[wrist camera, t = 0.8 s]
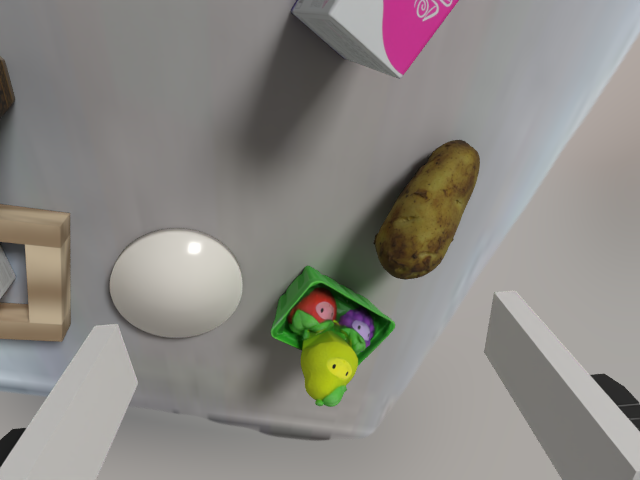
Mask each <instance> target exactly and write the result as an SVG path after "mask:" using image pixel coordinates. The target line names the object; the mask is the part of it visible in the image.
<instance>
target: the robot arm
mask: <svg viewBox="0 0 640 480" xmlns="http://www.w3.org/2000/svg"><path fill="white" fill-rule="evenodd" d="M484 353H485V354H486V356H487V358H488V359H489V361H490V362H491V364H492V366H493V367H494V369H495V370H496V372H497V374H498V376H499V377H500V379H501V380H502V382H503V384H504V385H505V387H506V389H507V390H508V392H509V393H510V395H511V397H512V398H513V400H514V402H515V403H516V405H517V407H518V408H519V410H520V411H521V413H522V415H523V416H524V418H525V420H526V421H527V423H528V425H529V426H530V428H531V429H532V431H533V433H534V434H535V436H536V437H537V439H538V441H539V442H540V444H541V446H542V447H543V449H544V450H545V452H546V454H547V455H548V457H549V459H550V460H551V462H552V464H553V465H554V467H555V469H556V470H557V472H558V473H559V475H560V477H561V478H562V480H640V405H639V402H638V401H637V400H636V399H635V398H634V396H632V394H631V393H630V392H629V391H628V390H627V389H626V388H625V387H624V386H622V385H621V384H619V383H618V382H616V381H615V380H613V379H612V378H610V377H609V376H607V375H605V374H595V375H589V374H588V372H587V371H586V370H585V369H584V368H583V367H582V366H581V364H580V363H579V362H578V361H577V360H576V359H575V358H574V356H573V355H572V354H571V353H570V352H569V351H568V350H567V349H566V348H565V346H564V345H563V344H562V343H561V342H560V341H559V339H558V338H557V337H556V336H555V335H554V334H553V333H552V332H551V330H550V329H549V328H548V327H547V326H546V325H545V324H544V323H543V321H542V320H541V319H540V318H539V317H538V316H537V315H536V314H535V312H534V311H533V310H532V309H531V308H530V307H529V305H528V304H527V303H526V302H525V301H524V300H523V299H522V298H521V296H520V295H519V294H518V293H517V292H516V291H505V292H494V297H493V302H492V308H491V315H490V321H489V326H488V332H487V338H486V344H485V350H484ZM137 384H138V381H137V378H136V375H135V372H134V370H133V367H132V364H131V361H130V358H129V355H128V352H127V350H126V347H125V344H124V341H123V338H122V335H121V332H120V329H119V327H118V324H111V325H99V326H94V328H93V329H92V331H91V332H90V334H89V335H88V337H87V338H86V340H85V341H84V343H83V344H82V346H81V347H80V349H79V350H78V352H77V353H76V355H75V356H74V358H73V359H72V361H71V362H70V364H69V365H68V367H67V368H66V370H65V371H64V373H63V374H62V376H61V377H60V379H59V380H58V382H57V383H56V385H55V386H54V388H53V389H52V391H51V392H50V394H49V395H48V397H47V398H46V400H45V401H44V403H43V404H42V406H41V407H40V409H39V410H38V412H37V413H36V415H35V416H34V418H33V420H32V421H31V422H30V424H29V426H28V427H27V428H20V429H12V430H11V431H10V432H9V433H8V434H7V435H5V436H4V437H3V438H2V439H1V440H0V480H96V479H97V476H98V474H99V472H100V470H101V467H102V465H103V463H104V460H105V458H106V456H107V454H108V451H109V449H110V447H111V444H112V442H113V440H114V437H115V435H116V433H117V431H118V428H119V426H120V423H121V421H122V419H123V417H124V414H125V412H126V410H127V407H128V405H129V403H130V401H131V398H132V396H133V394H134V391H135V389H136V387H137Z"/></svg>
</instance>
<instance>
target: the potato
mask: <svg viewBox="0 0 640 480" xmlns="http://www.w3.org/2000/svg"><path fill="white" fill-rule="evenodd" d="M479 166H480V158H479V155H478V152H477V151H476V150H475V149H474V148H473V147H471V146H470V145H469V144H468V143H466V142H465V141H462V140H455V141H450V142H447V143H445V144H443V145H442V146H440V147H439V148H437V149H436V150H435V151H433V153H432V155H431V156H430V157H429V160H428V162H427V163H426V164H425V165H423V166H422V167H421V168H419V170H418V171H417V173H416V174H415V176H414V177H413V178H412V179H411V181H410V182H409V183H408V184H407V186H406V187H405V188H404V190H403V191H402V193H401V194H400V196H399V197H398V199H397V200H396V202H395V204H394V206H393V207H392V209H391V211H390V213H389V214H388V216H387V218H386V220H385V221H384V223H383V225H382V226H381V228H380V231H379V233H378V234H377V235H376V236H375V240H374V244H375V247H376V252H377V254H378V258H379V261H380V263H381V265H382V266H383V268H384V269H385V270H386V271H387V272H388V273H390V274H391V275H392V276H394V277H396V278H400V279H413V278H418V277H422V276H424V275H426V274H428V273H429V272H431V271H432V270H433V269H435V268H436V267H437V266H438V265H439V264H440V263H441V261H442V259H443V258H444V256H445V254H446V252H447V249H448V247H449V245H450V243H451V242H452V241H453V237H454V235H455V232H456V230H457V227H458V225H459V223H460V220H461V217H462V214H463V212H464V210H465V207H466V205H467V203H468V201H469V199H470V197H471V194H472V192H473V190H474V187H475V184H476V181H477V177H478V172H479Z"/></svg>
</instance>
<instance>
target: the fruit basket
mask: <svg viewBox="0 0 640 480" xmlns="http://www.w3.org/2000/svg"><path fill="white" fill-rule="evenodd" d="M394 328H395V323H394V321H392V320H391V319H390V318H389V317H388V316H386V315H384V314H383V313H382V312H380V311H379V310H378V309H377V308H376V307H375V306H374V305H373V304H372V303H371V302H370V301H369V300H368V299H366V298H365V297H363V296H361V295H359V294H355V293H354V292H353V291H352V290H351V289H349V288H347V287H345V286H343V285H340V284H338V283H337V282H336V281H335V280H333V279H331V278H329V277H328V276H326V275H321V274H320V273H319V271H317V270H315V269H314V268H312V267H310V266H306V267H305V268H304V270H303V272H302V274H300V275H299V276H298V277H297V278H296V279H295V280H294V281H293V283H292V284H291V285H290V286H289V287H288V289H287V291H286V294H284V295H282V296H281V297H280V298H279V302H278V307H277V311H276V316H275V321H274V322H273V325H272V329H271V335H272V337H273V338H275V339H277V340H279V341H282V342H284V343H286V344H288V345H291V346H293V347H295V348H298V349H300V350H302V354H301V368H302V371H303V374H304V378H305V388H306V391H307V393H308V394H309V395H310V396H311V397H312V398H314V399H315V400H316V402H315V404H316V405H318V406H322V405H323V404H324V405H326V406H329V407H332V406H335V405H337V404H338V403H339V402H340V401H341V399H342V396H343V394H344V392H345V391H346V390H347V389H346V385H347V384H348V383H349V382H350V380H351V379H352V378H353V376H354V374H355V372H356V370H357V366H358V365H359V364H360V363H361V362H362V361H363V360H364V359H365V358H366V357H367V356H368V355H369V354H371V352H373V350H374V349H375V348H377V346H379V344H380V343H381V342H382V341H383V340H384V339H385V338H386V337H388V336H389V334H390V333H391V332H392V331H393V329H394Z"/></svg>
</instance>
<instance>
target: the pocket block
mask: <svg viewBox="0 0 640 480" xmlns="http://www.w3.org/2000/svg"><path fill="white" fill-rule="evenodd" d="M0 242H7V243H17V244H25V253H26V270H27V287H28V304H15V303H1V302H0V339H18V340H40V341H61V342H62V341H63V339H64V337H65V334H66V332H67V330H68V328H69V326H70V324H71V308H70V213H64V212H56V211H49V210H41V209H34V208H26V207H19V206H11V205H3V204H0Z"/></svg>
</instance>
